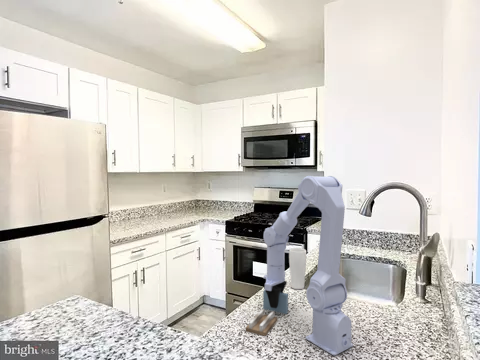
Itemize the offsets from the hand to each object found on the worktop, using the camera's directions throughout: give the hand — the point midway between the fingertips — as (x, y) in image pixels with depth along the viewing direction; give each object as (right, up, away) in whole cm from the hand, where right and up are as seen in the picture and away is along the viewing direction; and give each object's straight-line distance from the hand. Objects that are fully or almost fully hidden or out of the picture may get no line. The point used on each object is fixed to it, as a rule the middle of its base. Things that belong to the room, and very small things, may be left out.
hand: (275, 305), depth 95 cm
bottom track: (-5, -2, -10) cm, 12 cm away
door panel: (0, -2, 0) cm, 2 cm away
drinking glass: (+11, -2, +21) cm, 24 cm away
